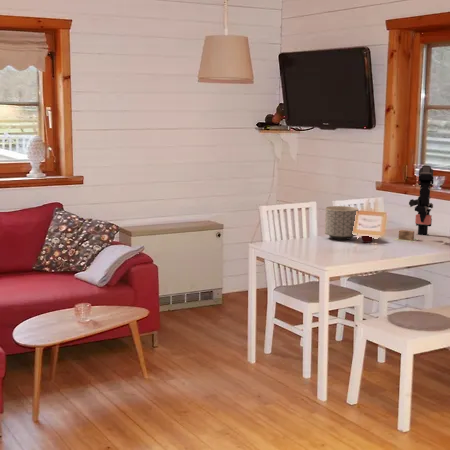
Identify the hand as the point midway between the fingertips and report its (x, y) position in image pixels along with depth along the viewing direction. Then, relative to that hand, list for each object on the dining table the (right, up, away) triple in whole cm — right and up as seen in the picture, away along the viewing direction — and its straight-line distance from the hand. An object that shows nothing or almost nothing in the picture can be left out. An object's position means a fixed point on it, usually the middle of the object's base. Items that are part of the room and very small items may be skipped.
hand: (423, 221), depth 435 cm
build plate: (-9, -11, +4) cm, 15 cm away
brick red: (0, -1, 0) cm, 1 cm away
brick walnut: (-9, -10, +4) cm, 14 cm away
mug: (-32, -12, -1) cm, 34 cm away
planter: (-46, -10, +9) cm, 48 cm away
